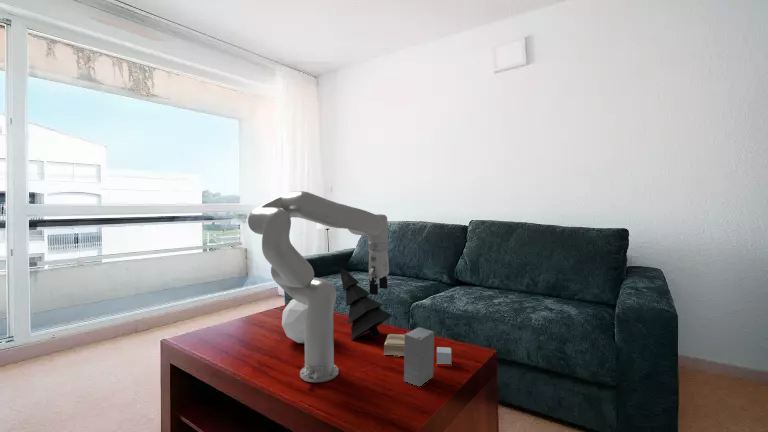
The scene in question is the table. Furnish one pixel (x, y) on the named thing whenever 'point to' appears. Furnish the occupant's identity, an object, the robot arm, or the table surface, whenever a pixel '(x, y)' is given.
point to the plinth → (394, 345)
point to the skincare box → (418, 356)
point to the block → (443, 355)
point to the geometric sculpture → (294, 321)
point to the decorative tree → (362, 308)
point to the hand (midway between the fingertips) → (378, 291)
